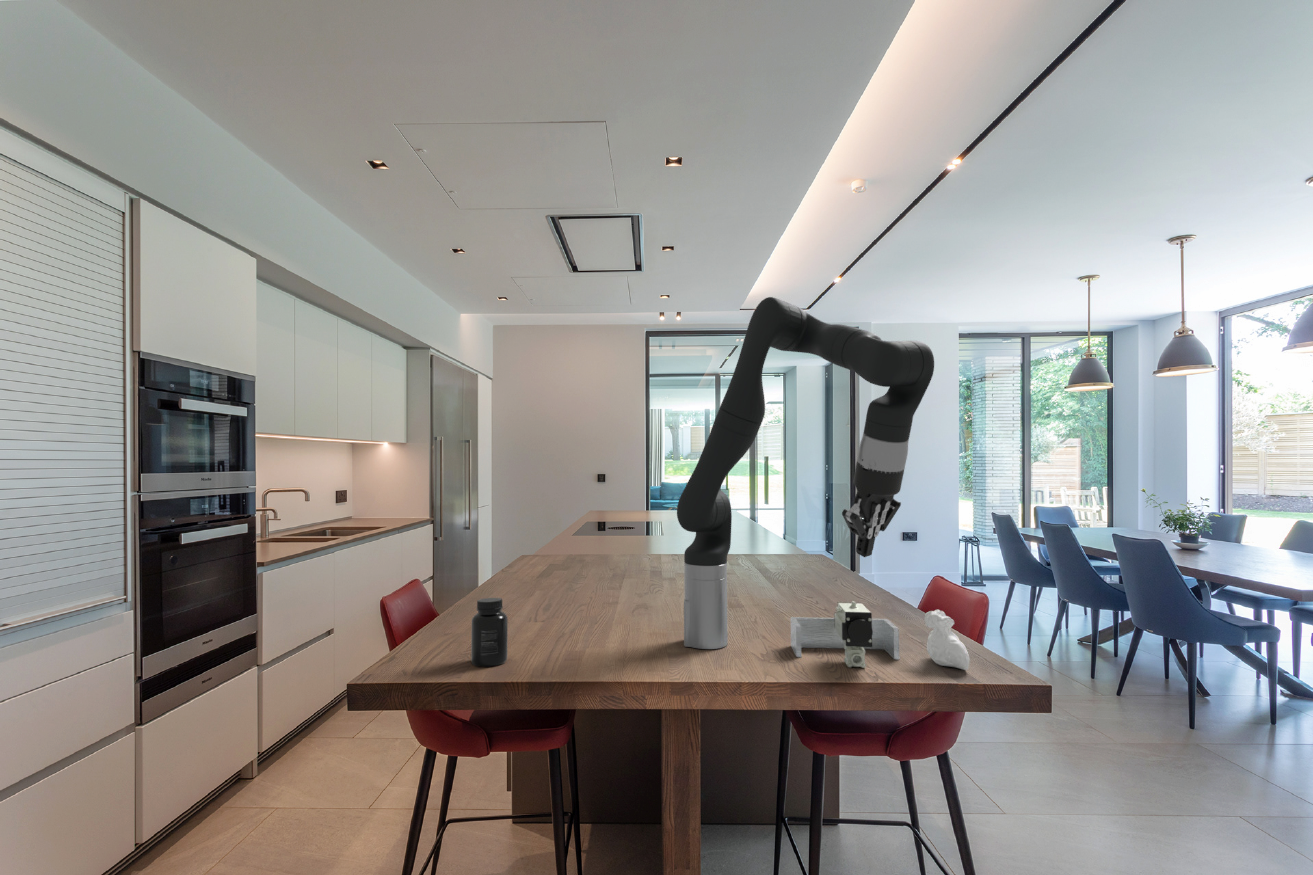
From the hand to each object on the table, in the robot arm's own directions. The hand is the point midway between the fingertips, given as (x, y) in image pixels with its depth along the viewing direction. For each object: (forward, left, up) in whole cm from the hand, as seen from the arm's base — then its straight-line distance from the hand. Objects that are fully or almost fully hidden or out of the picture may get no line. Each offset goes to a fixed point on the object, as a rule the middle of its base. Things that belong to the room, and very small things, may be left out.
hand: (863, 554), depth 106 cm
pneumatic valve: (0, +12, -23) cm, 26 cm away
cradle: (0, +20, -23) cm, 30 cm away
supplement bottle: (-70, +8, -23) cm, 74 cm away
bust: (+18, +14, -23) cm, 32 cm away
